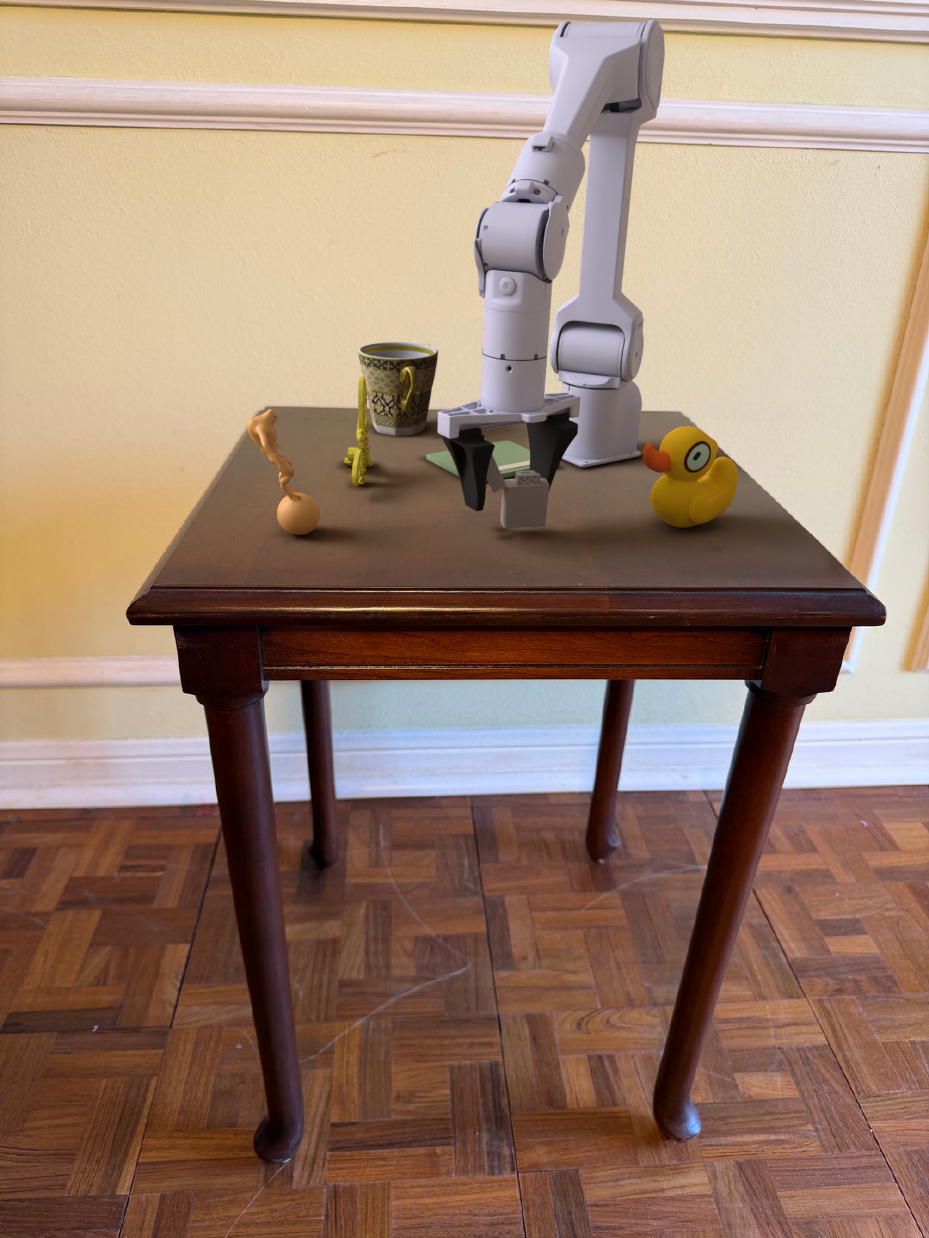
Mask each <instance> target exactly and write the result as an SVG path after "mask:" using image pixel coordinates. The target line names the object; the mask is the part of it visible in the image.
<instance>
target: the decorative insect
mask: <svg viewBox="0 0 929 1238" xmlns="http://www.w3.org/2000/svg"><path fill="white" fill-rule="evenodd" d="M357 392H358V394H357V415H358V416H357V417H358V418H357V423H356V424H357V425H356V434H355V436H356V440H357V447H348V448H347V457H345V458H344V462H343V463H344V465H345V466H349V467H352V468H351V486H352V487H358V486H360V485H364V484H365V480H366V477H367V475H365V474H366V472H367V467H370V468H371V467H372V466H373V463H374V461H373V459H372V457H371V455H370V452H371V451H370V450H371V446H369V445H368V444H369V443H370V441H369V440H368V439H369V438H370V436H369V432H370V423H369V421H370V420H369V418H368V416H367V411H368V397H367V388H366V380H365V378H364V377H363V376H359V378H358V391H357Z"/></svg>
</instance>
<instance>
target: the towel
mask: <svg viewBox="0 0 929 1238" xmlns="http://www.w3.org/2000/svg"><path fill="white" fill-rule="evenodd" d="M492 443H493V444H494V445H495V448H494V450H493V453H492V455H493V457H494V459H495V461H496V464H497V466H498V468H499V470H500V473H501V475H502V477H503V479H505V478H506V479H508V478H511V477H516V471H529V469H530V448H527V447H524V446H522V445H520V444H518V443H516V442H513V441H511V440H509V439H507V440H501V441H500V440H499V441H494V442H492ZM425 459H426V460H427V461H429V462H431V463H433V464H435V465H437V466H439V467H440V468H442V469H443V470H446V471H447V472H449V473H451V474H453V475H455V476H457V477H459V475H458V472H457V469H456V466H455V463H454V461H453V459H452V456H451V454H450V452H449V450H448V449H447V450H443V451H438V452H431V453H426V454H425ZM487 482H488V479H487V478H486V483H487Z"/></svg>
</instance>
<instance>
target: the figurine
mask: <svg viewBox="0 0 929 1238" xmlns="http://www.w3.org/2000/svg"><path fill="white" fill-rule="evenodd" d="M278 420H279V416H278V415H277V411H276V410H275V409H273V408H269V409H267V410H266V411H265V412H264V413H262V414H259V415H256V416H252V417H249V419H248V420H247V421H246V425H245V426H246V427H245V428H246V431H247V433H248V435H249V437H250V438H251V439H252V441H253V442H254V443H255V444H256V446H258V448H260V451H261V453H262V454H263V455H265V456H266V457H267V458H268V459H269V462H270V463H271V464H272V466H273V467H274V468H275V469H277V470H279V473H278V482H279V484H280V488H281V490H282V491H283V492H284V494H286V495H285V496H284V497H283V498H282V499H281V501H280V502H279V504H278V506H277V509H276V517H277V521H278V524H279V525H280V526H281V528H282V529H283V530H284V531H285V532H286V533H289V534H291V535H294V536H304V535H307V534H310V533H311V532H312V531H313V530H315V529H316V528H317V526H318V524H319V523H320V519H321V510H320V506H319V504H318V502H317V501H316V500H315V498H313V497H312V496H311V495H310V494H307V493H305V492H301V491H300V490H298V489H297V488H292V487H291V486H290V485H289V483H290V481H291V480H292V479H293V477H294V476H295V468H294V467H293V462H292V461H291V460H290V459H288V458H287V457H286V456H285V455H284V454H283V453H281V452H280V451H279V450H280V449H281V447H280V443H279V442H277V440H278V438H277V436H278V434H277V427H276V426H275V423H276V422H278Z"/></svg>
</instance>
